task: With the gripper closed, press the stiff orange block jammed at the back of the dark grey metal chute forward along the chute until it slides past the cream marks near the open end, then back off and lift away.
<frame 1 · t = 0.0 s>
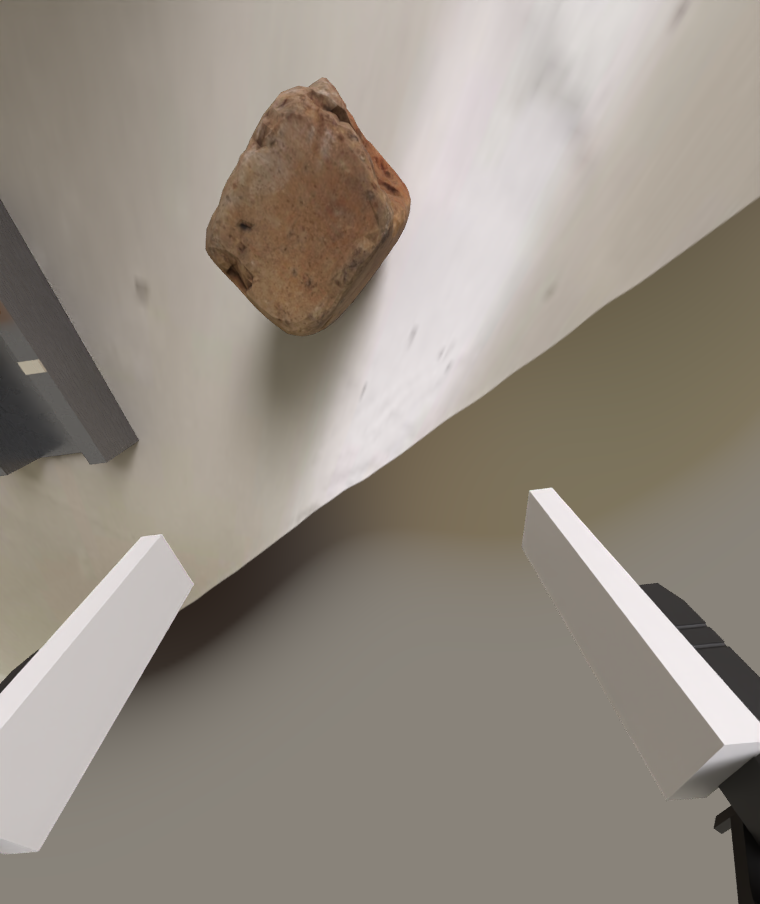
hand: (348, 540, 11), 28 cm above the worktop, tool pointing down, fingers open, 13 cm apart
block: (342, 251, 31), on the worktop
chute: (17, 343, 34), on the worktop
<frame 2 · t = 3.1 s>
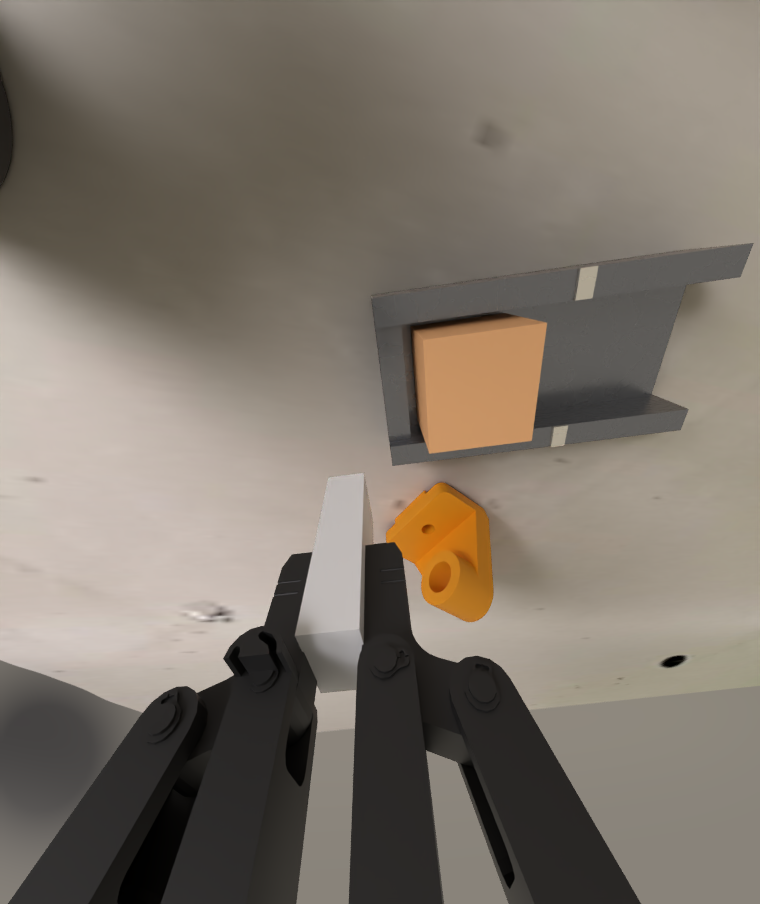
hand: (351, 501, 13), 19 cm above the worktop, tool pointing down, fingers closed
slider block: (468, 381, 25), point 5 cm above the worktop, slide at 0.0 cm
bracket: (430, 517, 39), on the worktop
chute: (515, 357, 29), on the worktop
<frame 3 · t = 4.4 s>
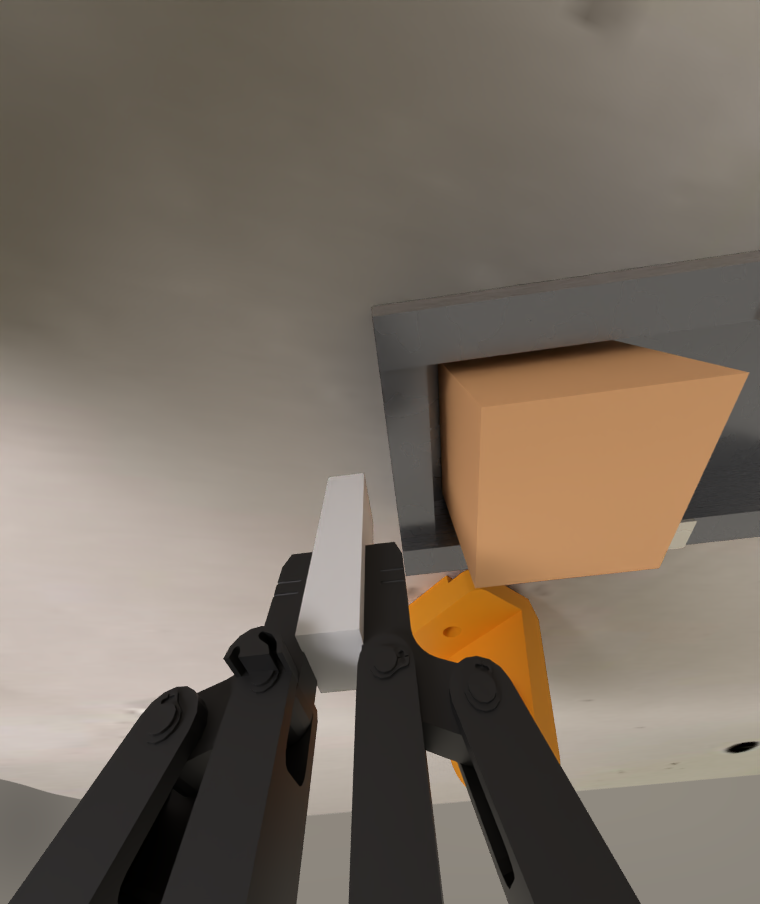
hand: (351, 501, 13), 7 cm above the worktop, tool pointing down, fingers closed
slider block: (539, 455, 14), point 5 cm above the worktop, slide at 0.0 cm
bracket: (453, 604, 29), on the worktop
chute: (597, 401, 19), on the worktop
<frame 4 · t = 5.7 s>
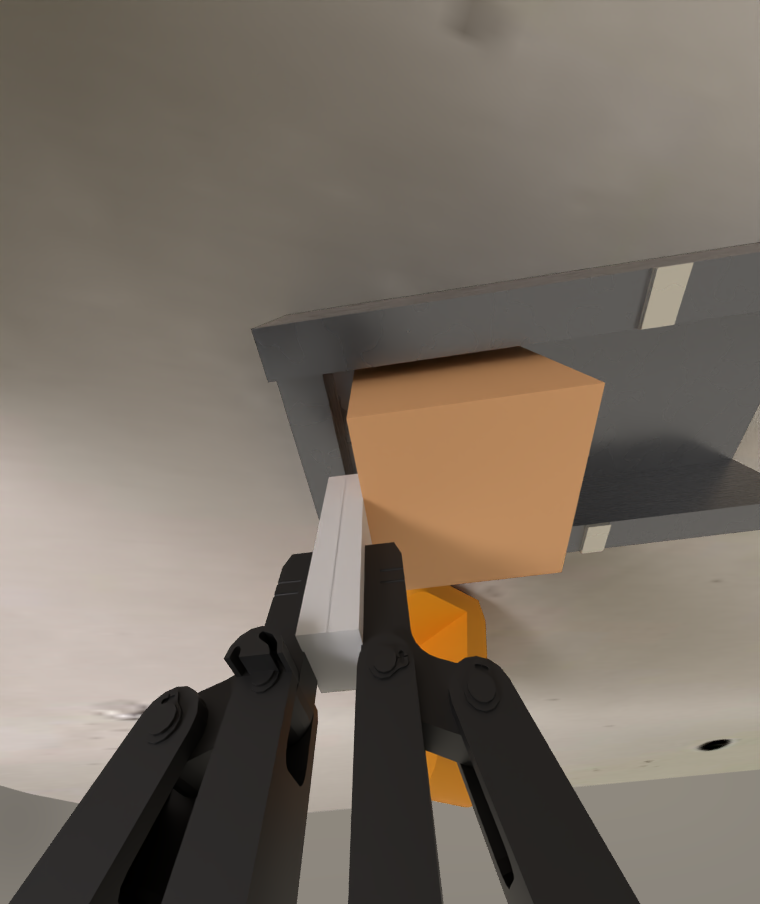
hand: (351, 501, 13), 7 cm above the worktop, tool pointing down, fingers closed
slider block: (450, 460, 15), point 5 cm above the worktop, slide at 0.3 cm, touching gripper
bracket: (406, 606, 29), on the worktop
chute: (523, 405, 19), on the worktop
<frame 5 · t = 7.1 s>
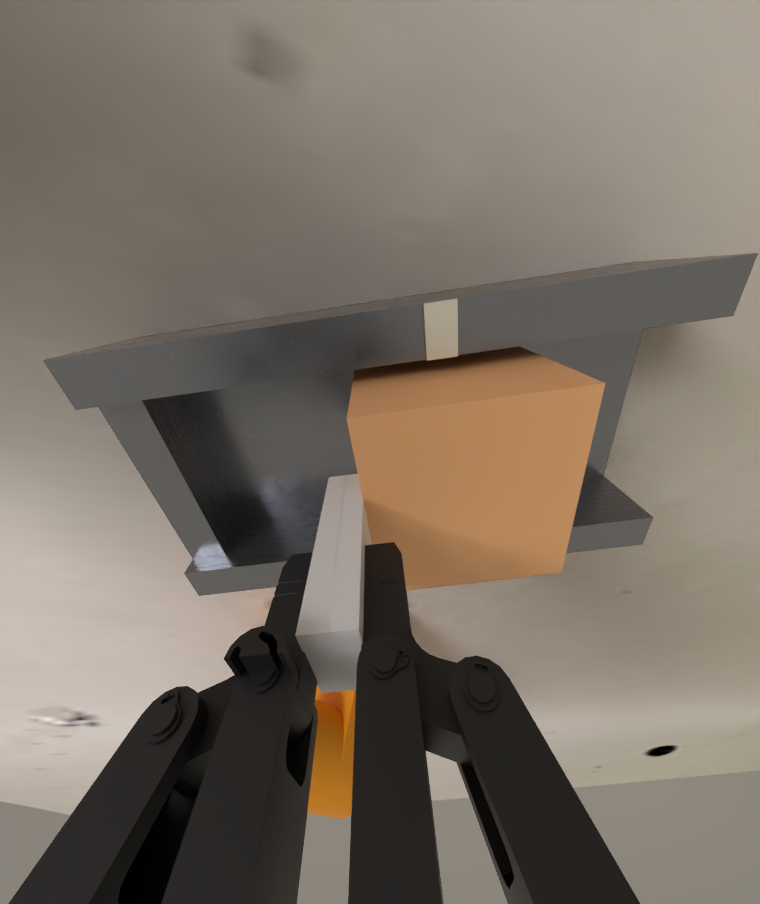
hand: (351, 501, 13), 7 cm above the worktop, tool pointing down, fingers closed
slider block: (450, 461, 15), point 5 cm above the worktop, slide at 8.3 cm, touching gripper
bracket: (322, 616, 29), on the worktop
chute: (394, 423, 19), on the worktop
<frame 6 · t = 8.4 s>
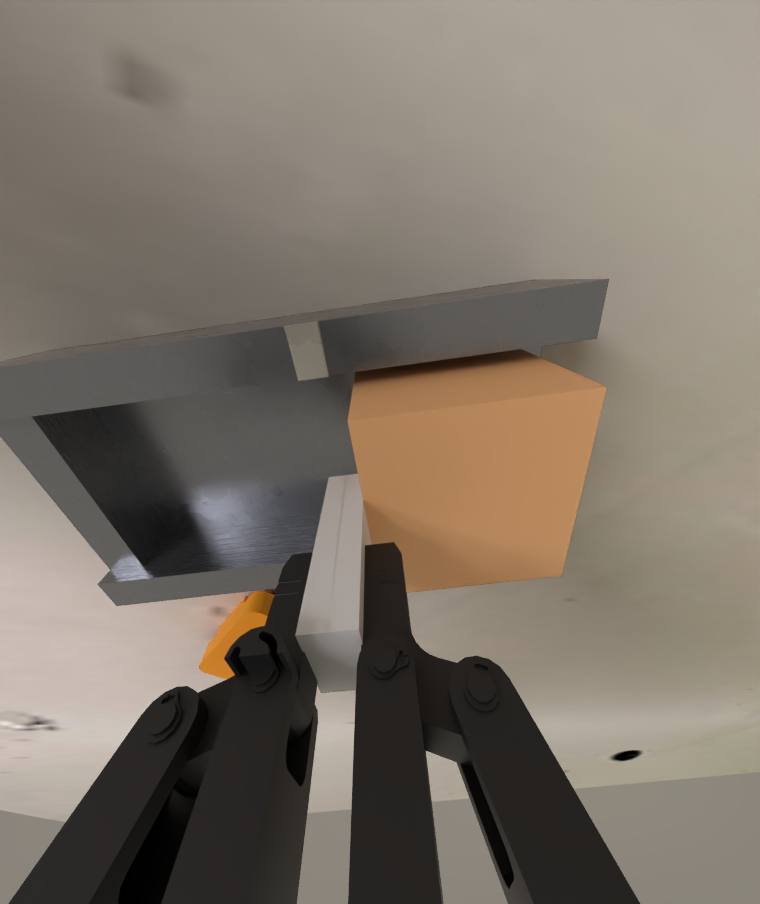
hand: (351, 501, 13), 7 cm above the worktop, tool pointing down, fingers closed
slider block: (451, 463, 15), point 5 cm above the worktop, slide at 13.4 cm, touching gripper
bracket: (269, 622, 29), on the worktop
chute: (315, 435, 19), on the worktop
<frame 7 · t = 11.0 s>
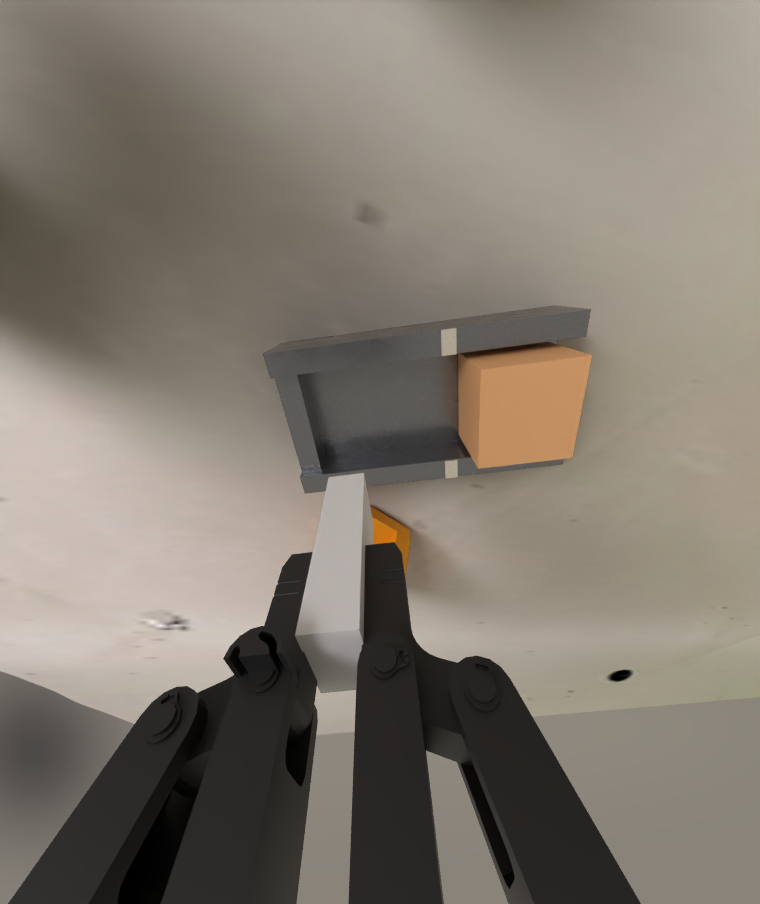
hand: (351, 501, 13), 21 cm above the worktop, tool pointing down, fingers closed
slider block: (512, 402, 27), point 5 cm above the worktop, slide at 13.7 cm
bracket: (363, 535, 42), on the worktop
chute: (419, 395, 32), on the worktop
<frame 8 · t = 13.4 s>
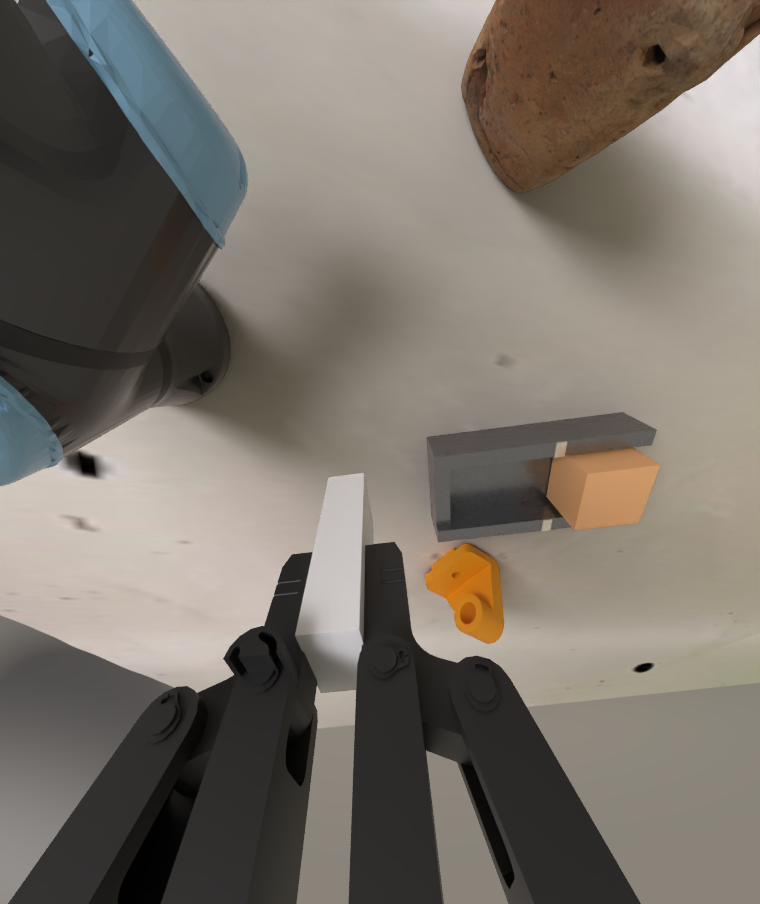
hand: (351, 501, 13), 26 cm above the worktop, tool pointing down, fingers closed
block: (510, 118, 27), on the worktop
slider block: (595, 482, 40), point 5 cm above the worktop, slide at 13.7 cm
bracket: (456, 564, 54), on the worktop
chute: (518, 468, 44), on the worktop
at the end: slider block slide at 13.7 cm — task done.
